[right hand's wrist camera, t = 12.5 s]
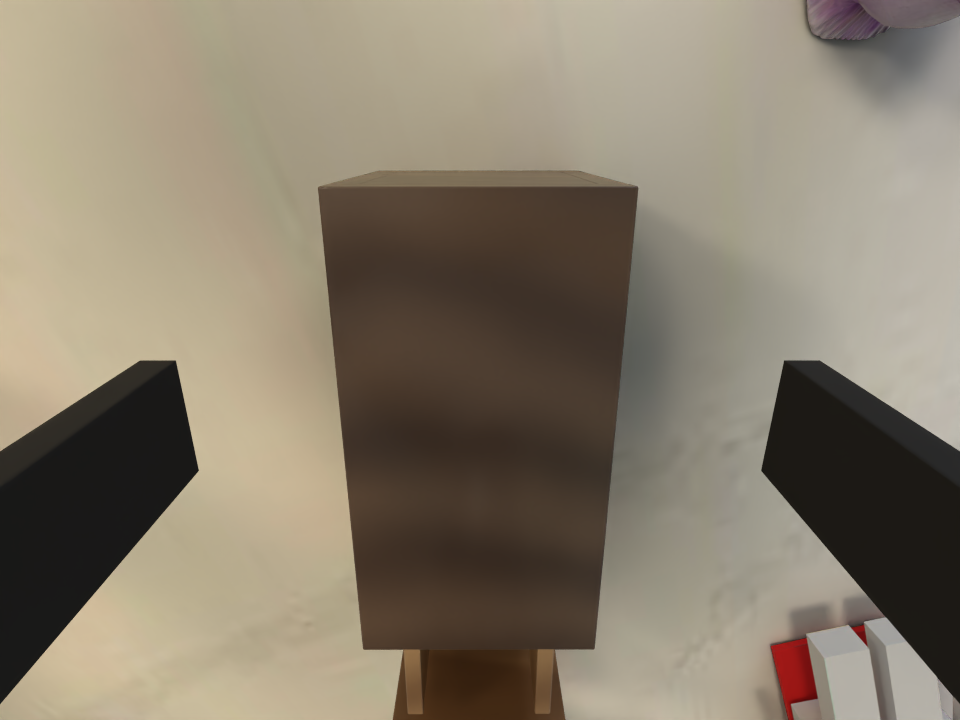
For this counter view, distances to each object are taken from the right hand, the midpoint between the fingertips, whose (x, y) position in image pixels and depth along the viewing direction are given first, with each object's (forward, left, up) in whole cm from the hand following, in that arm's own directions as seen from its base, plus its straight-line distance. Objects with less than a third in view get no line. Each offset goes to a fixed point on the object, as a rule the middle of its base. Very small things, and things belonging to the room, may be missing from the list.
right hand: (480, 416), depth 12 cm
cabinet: (+3, -5, -20) cm, 21 cm away
